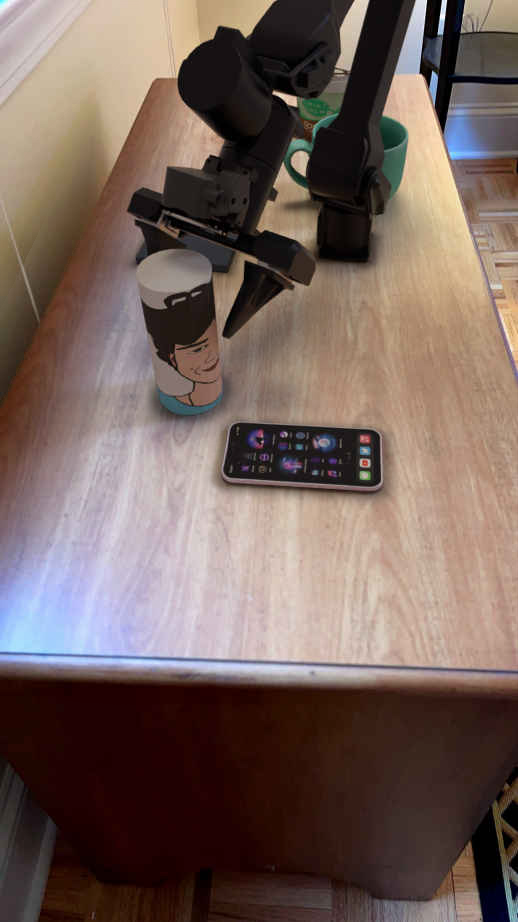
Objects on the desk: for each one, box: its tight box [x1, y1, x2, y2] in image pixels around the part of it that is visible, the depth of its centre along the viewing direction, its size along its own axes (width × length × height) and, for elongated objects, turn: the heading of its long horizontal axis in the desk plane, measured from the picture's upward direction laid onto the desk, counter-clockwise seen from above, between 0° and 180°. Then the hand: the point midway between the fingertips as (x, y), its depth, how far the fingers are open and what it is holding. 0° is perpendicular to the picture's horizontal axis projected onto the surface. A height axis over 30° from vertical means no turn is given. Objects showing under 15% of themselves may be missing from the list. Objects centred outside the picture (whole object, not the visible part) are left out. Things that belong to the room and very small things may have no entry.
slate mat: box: [135, 227, 238, 273], centre depth 90 cm, size 12×10×1 cm
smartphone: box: [221, 421, 384, 492], centre depth 66 cm, size 8×1×15 cm
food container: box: [295, 66, 350, 142], centre depth 107 cm, size 12×6×10 cm, turn 73°
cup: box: [135, 249, 223, 416], centre depth 67 cm, size 7×7×15 cm
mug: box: [282, 114, 409, 201], centre depth 94 cm, size 17×13×10 cm
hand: (186, 321), depth 66 cm, fingers open, 9 cm apart
